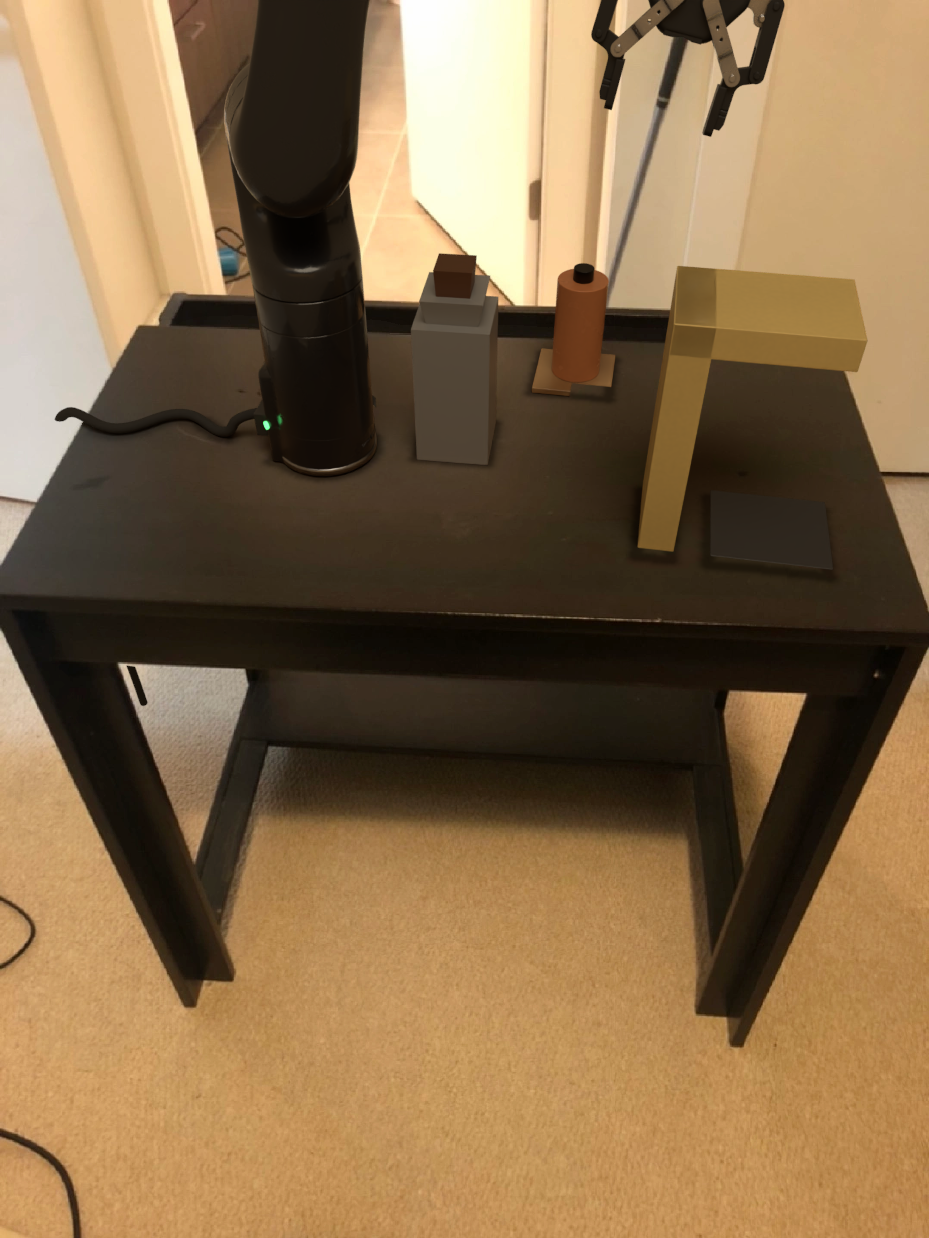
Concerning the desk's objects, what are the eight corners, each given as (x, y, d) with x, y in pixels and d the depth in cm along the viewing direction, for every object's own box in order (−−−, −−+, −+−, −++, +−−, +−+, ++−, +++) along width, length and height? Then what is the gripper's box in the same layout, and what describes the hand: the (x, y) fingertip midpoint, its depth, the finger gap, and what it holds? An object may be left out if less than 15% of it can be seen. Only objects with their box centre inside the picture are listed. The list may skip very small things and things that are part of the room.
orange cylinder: (548, 380, 102) (555, 277, 94) (554, 355, 105) (561, 254, 97) (597, 384, 101) (608, 281, 93) (601, 359, 104) (611, 258, 97)
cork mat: (531, 392, 101) (531, 387, 101) (541, 353, 107) (541, 348, 106) (609, 400, 100) (610, 395, 100) (615, 359, 106) (615, 354, 105)
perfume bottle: (495, 424, 97) (499, 247, 84) (487, 465, 92) (490, 284, 80) (428, 419, 98) (421, 243, 85) (416, 459, 93) (408, 279, 80)
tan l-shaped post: (636, 556, 83) (673, 323, 68) (641, 491, 90) (677, 265, 74) (830, 578, 81) (914, 344, 66) (822, 510, 88) (897, 282, 72)
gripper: (633, -144, 70) (571, 105, 79) (827, -94, 70) (743, 150, 79) (635, -134, 76) (578, 96, 85) (813, -88, 76) (736, 137, 85)
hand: (657, 122), depth 82 cm, fingers open, 8 cm apart
